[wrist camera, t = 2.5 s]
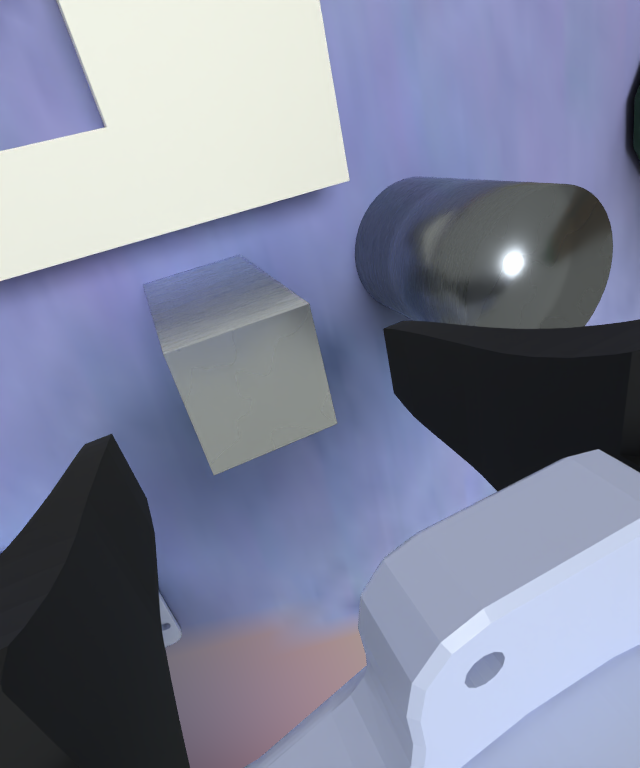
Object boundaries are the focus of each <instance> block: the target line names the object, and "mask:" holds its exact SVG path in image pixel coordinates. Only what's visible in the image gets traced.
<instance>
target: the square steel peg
mask: <svg viewBox="0 0 640 768" xmlns="http://www.w3.org/2000/svg"><path fill="white" fill-rule="evenodd" d="M143 287H144V290H145V293H146V297H147V300H148V304H149V307H150V311H151V314H152V317H153V321H154V324H155V328H156V331H157V334H158V338H159V341H160V345H161V348H162V352H163V355H164V357H165V360H166V362H167V364H168V367H169V369H170V372H171V374H172V376H173V379H174V381H175V384H176V386H177V388H178V391H179V393H180V396H181V398H182V400H183V403H184V405H185V408H186V410H187V412H188V415H189V417H190V420H191V422H192V424H193V427H194V429H195V432H196V434H197V436H198V439H199V441H200V443H201V446H202V448H203V451H204V453H205V455H206V458H207V460H208V463H209V465H210V467H211V470H212V472H213V475H216V474H219V473H221V472H223V471H226V470H228V469H231V468H233V467H235V466H238V465H240V464H242V463H245V462H247V461H250V460H252V459H254V458H257V457H259V456H261V455H264V454H266V453H269V452H271V451H273V450H276V449H278V448H281V447H283V446H285V445H288V444H290V443H292V442H295V441H297V440H300V439H302V438H304V437H307V436H309V435H311V434H314V433H316V432H319V431H321V430H323V429H326V428H328V427H331V426H333V425H335V424H337V420H336V416H335V412H334V408H333V403H332V399H331V395H330V390H329V386H328V382H327V378H326V373H325V369H324V365H323V360H322V356H321V352H320V348H319V343H318V339H317V335H316V330H315V326H314V322H313V318H312V313H311V309H310V305H309V303H308V302H306V301H305V300H303V299H302V298H300V297H299V296H298V295H296V294H295V293H293V292H292V291H291V290H289V289H288V288H286V287H285V286H283V285H282V284H281V283H279V282H278V281H276V280H275V279H274V278H272V277H271V276H269V275H268V274H267V273H265V272H264V271H262V270H261V269H259V268H258V267H257V266H255V265H254V264H252V263H251V262H250V261H248V260H247V259H245V258H244V257H242V256H241V255H237V256H233V257H230V258H227V259H224V260H220V261H217V262H214V263H211V264H208V265H204V266H201V267H198V268H195V269H191V270H188V271H185V272H182V273H178V274H175V275H172V276H169V277H166V278H162V279H159V280H156V281H153V282H149V283H146V284H143Z"/></svg>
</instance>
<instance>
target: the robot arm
mask: <svg viewBox="0 0 640 768" xmlns="http://www.w3.org/2000/svg"><path fill="white" fill-rule="evenodd" d="M383 330H384V336H385V342H386V348H387V354H388V360H389V366H390V372H391V378H392V384H393V390H394V394H395V395H396V396H397V397H398V399H399V400H400V401H401V402H402V404H403V405H404V406H405V407H406V408H407V409H408V410H409V412H410V413H411V414H412V415H413V416H414V417H415V418H416V419H417V420H418V421H419V422H421V423H422V424H423V425H424V426H425V427H426V428H428V429H429V430H430V431H431V432H432V433H433V434H435V435H436V436H437V437H438V438H439V439H441V440H442V441H443V442H444V443H445V444H446V445H448V446H449V447H450V448H451V449H452V450H454V451H455V452H456V453H457V454H458V455H460V456H461V457H462V458H463V459H464V460H466V461H467V462H468V463H469V464H470V465H471V466H473V467H474V468H475V469H476V470H477V471H478V472H479V473H480V474H481V475H482V476H483V477H484V478H485V479H486V480H487V481H488V482H489V483H490V484H491V485H492V486H493V487H494V488H495V489H496V490H497V492H496V493H494V494H492V495H490V496H488V497H486V498H484V499H482V500H480V501H478V502H476V503H474V504H472V505H471V506H469V507H467V508H465V509H463V510H461V511H459V512H457V513H455V514H453V515H451V516H449V517H447V518H445V519H443V520H441V521H439V522H437V523H435V524H433V525H431V526H430V527H428V528H426V529H424V530H422V531H420V532H418V533H416V534H415V535H413V536H412V537H411V538H409V539H408V540H407V541H405V542H404V543H403V544H401V545H400V546H399V547H397V548H396V549H395V550H393V551H392V552H391V553H389V554H388V555H387V556H386V557H384V559H383V560H382V562H381V563H380V565H379V566H378V568H377V569H376V571H375V572H374V574H373V576H372V577H371V579H370V580H369V582H368V583H367V585H366V586H365V588H364V590H363V592H362V594H361V597H360V609H359V621H358V629H359V633H360V636H361V639H362V643H363V646H364V650H365V653H366V659H367V660H366V661H367V666H365V667H364V668H363V669H362V670H361V671H360V672H359V673H357V674H356V675H355V676H354V677H353V678H352V679H350V680H349V681H348V682H347V683H346V684H345V685H344V686H342V687H341V688H340V689H339V690H338V691H337V692H335V693H334V694H333V695H332V696H331V697H330V698H329V699H327V700H326V701H325V702H324V703H323V704H321V705H320V706H319V707H318V708H317V709H316V710H315V711H313V712H312V713H311V714H310V715H309V716H308V717H306V718H305V719H304V720H303V721H302V722H301V723H299V725H297V726H296V727H295V728H294V729H293V730H291V731H290V732H289V733H288V734H287V735H286V736H284V737H283V738H282V739H281V740H280V741H279V742H277V743H276V744H275V745H274V746H273V747H272V748H271V749H269V750H268V751H267V752H266V753H265V754H264V755H262V756H261V757H260V758H259V759H258V760H256V761H254V762H252V763H251V764H249V765H247V766H246V767H244V768H640V320H634V321H627V322H621V323H613V324H605V325H595V326H583V327H572V328H553V329H511V328H493V327H479V326H468V325H458V324H448V323H438V322H428V321H402V322H399V323H397V324H394V325H391V326H389V327H386V328H384V329H383ZM164 623H167V624H164ZM181 636H182V634H181V628H180V627H179V625H178V623H177V621H176V620H175V618H174V616H173V615H172V613H171V611H170V609H169V608H168V606H167V604H166V603H165V601H164V599H163V597H162V596H161V594H160V592H159V588H158V573H157V558H156V545H155V533H154V528H153V524H152V519H151V514H150V510H149V506H148V502H147V498H146V496H145V494H144V493H143V491H142V489H141V487H140V485H139V483H138V481H137V480H136V478H135V476H134V474H133V472H132V470H131V468H130V467H129V465H128V463H127V461H126V459H125V457H124V455H123V454H122V452H121V450H120V448H119V446H118V444H117V442H116V441H115V439H114V437H113V435H112V434H110V435H108V436H105V437H102V438H100V439H97V440H95V441H92V442H89V443H87V444H85V445H84V446H83V447H82V449H81V450H80V451H79V453H78V454H77V455H76V457H75V458H74V460H73V461H72V463H71V464H70V466H69V467H68V468H67V470H66V471H65V473H64V474H63V476H62V477H61V479H60V480H59V482H58V483H57V484H56V486H55V487H54V489H53V490H52V492H51V493H50V494H49V496H48V497H47V499H46V500H45V501H44V502H43V504H42V505H41V506H40V508H39V509H38V510H37V512H36V513H35V514H34V515H33V517H32V518H31V519H30V521H29V522H28V523H27V524H26V526H25V527H24V528H23V530H22V531H21V532H20V533H19V534H18V536H17V537H16V538H15V539H14V540H13V541H12V542H11V544H10V545H9V546H8V547H7V548H6V549H5V550H4V551H3V552H2V554H1V555H0V768H190V766H189V762H188V757H187V753H186V748H185V743H184V739H183V735H182V730H181V725H180V721H179V716H178V711H177V706H176V701H175V696H174V692H173V687H172V682H171V677H170V672H169V666H168V661H167V656H166V650H165V648H166V647H168V646H170V645H172V644H174V643H176V642H177V641H179V639H180V638H181Z"/></svg>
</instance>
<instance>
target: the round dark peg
mask: <svg viewBox="0 0 640 768" xmlns="http://www.w3.org/2000/svg"><path fill="white" fill-rule="evenodd" d="M612 253H613V240H612V231H611V225H610V222H609V219H608V216H607V213H606V211H605V209H604V207H603V206H602V204H601V203H600V202H599V200H598V199H597V198H596V197H595V196H594V195H593V194H592V193H590V192H589V191H587V190H585V189H584V188H581V187H578V186H575V185H569V184H554V183H534V182H513V181H493V180H473V179H453V178H433V177H411V178H407V179H403V180H401V181H398V182H396V183H394V184H392V185H391V186H389V187H388V188H386V189H385V190H384V191H382V192H381V193H380V194H379V195H378V196H377V197H376V198H375V200H374V201H373V202H372V203H371V205H370V206H369V208H368V209H367V211H366V213H365V215H364V217H363V219H362V221H361V224H360V226H359V229H358V233H357V237H356V244H355V261H356V267H357V272H358V275H359V278H360V280H361V282H362V284H363V286H364V288H365V289H366V290H367V292H368V293H369V294H370V295H371V296H372V297H373V298H374V299H375V300H377V301H378V302H379V303H381V304H383V305H385V306H387V307H389V308H391V309H393V310H395V311H397V312H399V313H400V314H402V315H404V316H406V317H408V318H410V319H412V320H414V321H428V322H438V323H448V324H458V325H468V326H479V327H493V328H511V329H553V328H572V327H583V326H585V325H586V323H587V322H588V321H589V319H590V317H591V316H592V314H593V313H594V311H595V309H596V307H597V305H598V303H599V301H600V299H601V297H602V294H603V292H604V290H605V287H606V284H607V280H608V277H609V273H610V268H611V262H612Z"/></svg>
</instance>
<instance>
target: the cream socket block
mask: <svg viewBox="0 0 640 768" xmlns="http://www.w3.org/2000/svg"><path fill="white" fill-rule="evenodd" d="M56 1H57V4H58V6H59V9H60V11H61V14H62V17H63V19H64V22H65V24H66V27H67V30H68V32H69V35H70V37H71V40H72V43H73V45H74V48H75V50H76V53H77V56H78V58H79V61H80V63H81V66H82V69H83V71H84V74H85V76H86V79H87V82H88V84H89V87H90V89H91V92H92V95H93V97H94V100H95V102H96V105H97V108H98V110H99V113H100V115H101V118H102V121H103V123H104V126H105V128H101V129H96V130H92V131H87V132H83V133H79V134H74V135H70V136H65V137H61V138H57V139H52V140H48V141H43V142H39V143H35V144H30V145H26V146H21V147H17V148H13V149H8V150H4V151H0V281H2V280H6V279H9V278H13V277H16V276H20V275H23V274H27V273H30V272H33V271H37V270H40V269H44V268H47V267H51V266H54V265H58V264H61V263H65V262H68V261H72V260H75V259H79V258H82V257H86V256H89V255H93V254H96V253H100V252H103V251H106V250H110V249H113V248H117V247H120V246H124V245H127V244H131V243H134V242H138V241H141V240H145V239H148V238H152V237H155V236H159V235H162V234H166V233H169V232H172V231H176V230H179V229H183V228H186V227H190V226H193V225H197V224H200V223H204V222H207V221H211V220H214V219H218V218H221V217H225V216H228V215H232V214H235V213H238V212H242V211H245V210H249V209H252V208H256V207H259V206H263V205H266V204H270V203H273V202H277V201H280V200H284V199H287V198H291V197H294V196H298V195H301V194H305V193H308V192H311V191H315V190H318V189H322V188H325V187H329V186H332V185H336V184H339V183H343V182H346V181H350V180H349V174H348V168H347V162H346V156H345V150H344V144H343V139H342V133H341V127H340V121H339V115H338V109H337V103H336V97H335V91H334V85H333V79H332V73H331V67H330V61H329V55H328V49H327V43H326V37H325V31H324V25H323V19H322V13H321V7H320V1H319V0H56Z"/></svg>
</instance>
